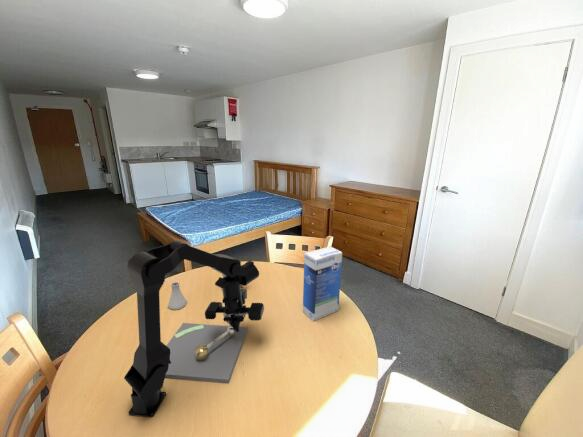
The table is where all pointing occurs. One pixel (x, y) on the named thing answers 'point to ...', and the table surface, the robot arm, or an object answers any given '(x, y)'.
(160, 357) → the robot arm
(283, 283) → the table surface
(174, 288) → the flask
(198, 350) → the lever
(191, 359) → the dial board
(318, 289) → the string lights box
